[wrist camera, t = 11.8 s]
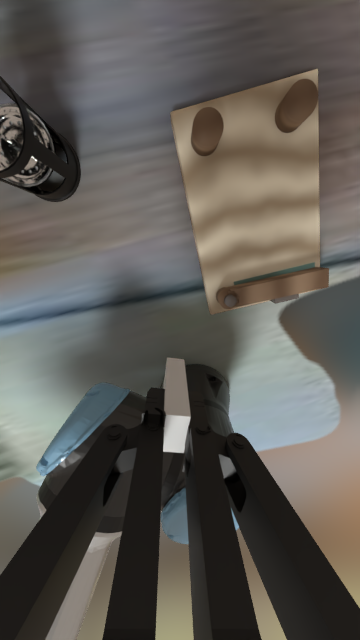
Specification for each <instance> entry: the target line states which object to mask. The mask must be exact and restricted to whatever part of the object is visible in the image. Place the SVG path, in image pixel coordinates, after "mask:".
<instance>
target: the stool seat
mask: <svg viewBox="0 0 360 640" xmlns="http://www.w3.org/2000/svg"><path fill="white" fill-rule="evenodd" d="M171 124H172V129H173V134H174V139H175V144H176V149H177V154H178V159H179V164H180V169H181V174H182V179H183V184H184V189H185V194H186V199H187V203H188V208H189V213H190V218H191V223H192V228H193V233H194V238H195V243H196V248H197V253H198V258H199V263H200V268H201V273H202V278H203V283H204V288H205V293H206V298H207V303H208V308H209V312H210V314H211V315H212V314H216V313H220V312H225V311H229V310H233V309H237V308H242V307H246V306H250V305H254V304H259V303H263V302H267V301H272V302H274V303H280V302H284V301H288V300H292V299H297V298H299V294H301V293H299V294H294V295H290V296H285V297H281V298H276V299H272V300H267V301H263V302H258V303H254V304H249V305H244V306H240V307H235V308H233V309H225V308H223V307H222V306H221V305H220V304H219V303H218V301H217V299H216V294H217V292H218V290H219V289H221V288H223V287H229V286H234V285H238V284H243V283H247V282H251V281H256V280H260V279H265V278H269V277H274V276H278V275H282V274H287V273H291V272H296V271H300V270H305V269H309V268H313V267H320V225H319V127H318V69H315V70H312V71H308V72H305V73H301V74H298V75H295V76H291V77H288V78H284V79H281V80H278V81H274V82H271V83H267V84H264V85H261V86H257V87H254V88H250V89H247V90H244V91H240V92H237V93H233V94H230V95H227V96H223V97H220V98H216V99H213V100H210V101H206V102H203V103H200V104H196V105H193V106H189V107H186V108H183V109H179V110H176V111H172V112H171ZM317 290H318V289H317ZM313 291H314V290H313ZM308 292H309V291H308ZM304 293H305V292H304Z"/></svg>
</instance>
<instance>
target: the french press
mask: <svg viewBox="0 0 360 640" xmlns="http://www.w3.org/2000/svg"><path fill="white" fill-rule="evenodd" d="M0 89H1V90H2V91H4V92H5V93H6V94H7V95H8V96H9V97H10V98H11V99H12V100H13V101H14V102H15V103H16V104H11V103H8V104H2V105H0V181H3V182H5V183H8V184H10V185H13V186H15V187H18V188H20V189H23V190H25V191H28V192H30V193H33V194H35V195H36V196H38V197H40V198H42V199H44V200H47V201H51V202H59V201H63V200H66V199H68V198H69V197H71V196H72V195H73V194H74V192H75V191H76V189H77V187H78V185H79V181H80V165H79V161H78V158H77V155H76V153H75V151H74V149H73V148H72V146H71V145H70V144H69V142H68V141H67V140H66V139H65V138H64V137H63V136H61V135H60V134H59V133H57V132H56V131H55V130H54V129H53V128H51V127H50V126H49V125H48V124H47V123H46V122H45V121H44V120H43V119H42V118H41V117H40V116H39V115H38V114H37V113H36V112H35V111H34V110H33V109H32V108H31V107H30V106H29V105H28V104H27V103H26V102H25V101H24V100H23V99H22V98H21V97H20V96H19V95H18V94H17V93H16V92H15V91H14V90H13V89H12V87H11V86H10V85H9V84H8V83H7V82H6V81H5V80H4V79H3V78H2V77H1V76H0ZM52 141H54V142H55V143H57V144H58V145H59V146H60V147H61V148H62V149H63V150H64V152H65V153H66V157H67V163H66V162H64V161H63V160H62V159H61V158H59V157H58V156H57V155H56V154H55V149H54V145H53V142H52ZM53 170H54V171H56V172H57V173H59V174H60V175H62V176H63V177H65V179H64V181H63V183H62V184H61V185H60V187H59V188H57V189H56V190H55V191H53V192H48V191H44V190H42V189H40V188H39V187H38V186H37V185H39V184H42V183H43V182H45V181H46V180H47V179H48V178H49V177H50V176H51V174H52V172H53ZM1 178H5V179H7V180H8V181H6V180H4V179H1ZM9 181H10V182H9ZM11 182H12V183H11ZM18 185H19V186H18Z"/></svg>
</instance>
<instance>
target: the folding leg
mask: <svg viewBox="0 0 360 640" xmlns="http://www.w3.org/2000/svg"><path fill="white" fill-rule="evenodd" d="M328 283H329V268H321V267H313V268H309V269H305V270H300V271H296V272H291V273H287V274H282V275H278V276H274V277H269V278H265V279H260V280H256V281H251V282H247V283H243V284H238V285H234V286H229V287H223V288H221V289H219V290H218V292H217V294H216V299H217V301H218V303H219V304H220V305H221V306H222V307H223V308H225V309H233V308H235V307H240V306H244V305H249V304H254V303H258V302H263V301H267V300H272V299H276V298H281V297H285V296H290V295H294V294H299V293H304V292H308V291H313V290H317V289H322V288H326V287H328Z"/></svg>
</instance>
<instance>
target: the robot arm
mask: <svg viewBox="0 0 360 640" xmlns="http://www.w3.org/2000/svg"><path fill="white" fill-rule="evenodd" d="M229 402H230V395H229V390H228V387H227V384H226V382H225V380H224V378H223V377H222V375H221V374H220V373H219V372H217V371H216V370H214V369H213V368H211V367H208V366H205V365H198V364H192V365H186V366H185V362H184V359H176V358H167V362H166V370H165V377H164V381H163V383H162V386H161V389H160V388H151V389H150V390H149V391H148V393H147V398H146V397H144V396H141V395H139V394H136V393H134V392H131V391H130V389H124V388H121V387H118V386H115V385H112V384H109V383H99V384H96V385H95V386H93V387H92V388H91V389H90V390H89V391H88V392H87V394H86V395H85V396H84V397H83V399H82V400H81V401H80V403H79V404H78V405H77V406H76V408H75V409H74V411H73V412H72V413H71V415H70V416H69V417H68V419H67V420H66V422H65V423H64V424H63V426H62V427H61V429H60V430H59V431H58V433H57V434H56V436H55V437H54V439H53V440H52V442H51V443H50V445H49V446H48V448H47V449H46V451H45V453H44V455H43V456H42V458H41V460H40V461H39V462H38V464H37V467H36V469H37V471H38V472H40V475H42V476H45V475H47V476H46V478H45V479H44V481H43V483H42V485H41V487H40V489H39V491H38V493H37V503H38V507H39V511H40V515H41V517H40V519H39V521H38V523H37V524H36V526H35V527H34V529H33V530H32V531H31V533H30V534H29V536H28V537H27V539H26V540H25V541H24V543H23V544H22V545H21V547H20V548H19V550H18V551H17V553H16V554H15V555H14V557H13V558H12V560H11V561H10V562H9V564H8V565H7V567H6V568H5V570H4V571H3V572H2V574H1V575H0V640H76V638H77V636H78V634H79V631H80V628H81V625H82V622H83V620H84V617H85V614H86V611H87V609H88V605H89V603H90V600H91V598H92V595H93V592H94V589H95V587H96V584H97V581H98V578H99V576H100V573H101V570H102V567H103V565H104V562H105V559H106V556H107V554H108V551H109V548H110V545H111V542H112V541H113V540H114V539H116V538H118V537H119V536H121V540H120V545H119V551H118V557H117V562H116V568H115V574H114V579H113V584H112V590H111V595H110V601H109V607H108V612H107V618H106V624H105V629H104V634H103V639H102V640H155V631H156V606H157V584H158V561H159V537H160V536H159V535H160V514H161V522H162V528H163V531H164V533H165V534H166V535H167V536H168V537H169V538H170V539H171V540H173V541H175V542H178V543H182V544H189V560H190V577H191V596H192V615H193V633H194V640H262V639H261V636H260V633H259V629H258V625H257V621H256V616H255V612H254V608H253V603H252V599H251V595H250V590H249V586H248V581H247V577H246V573H245V568H244V564H243V560H242V555H241V551H240V547H239V542H238V537H237V533H236V530H237V529H238V528H240V530H241V532H242V535H243V537H244V540H245V542H246V544H247V546H248V549H249V551H250V554H251V556H252V558H253V561H254V563H255V565H256V568H257V570H258V572H259V575H260V577H261V579H262V582H263V584H264V587H265V589H266V591H267V594H268V596H269V598H270V601H271V603H272V605H273V608H274V610H275V612H276V615H277V617H278V620H279V622H280V624H281V627H282V629H283V631H284V633H285V636H286V638H287V640H360V608H359V607H358V605H357V604H356V602H355V601H354V599H353V598H352V596H351V595H350V593H349V592H348V590H347V589H346V587H345V586H344V584H343V583H342V581H341V580H340V578H339V577H338V575H337V574H336V572H335V571H334V569H333V568H332V566H331V565H330V563H329V562H328V560H327V558H326V557H325V555H324V554H323V553H322V551H321V550H320V548H319V546H318V545H317V543H316V542H315V540H314V539H313V538H312V536H311V534H310V533H309V531H308V530H307V528H306V527H305V525H304V524H303V522H302V521H301V519H300V518H299V516H298V515H297V513H296V512H295V510H294V509H293V507H292V506H291V504H290V503H289V501H288V500H287V498H286V497H285V495H284V494H283V492H282V491H281V489H280V488H279V486H278V485H277V483H276V482H275V480H274V479H273V477H272V476H271V474H270V473H269V471H268V469H267V468H266V467H265V465H264V464H263V462H262V460H261V459H260V457H259V456H258V454H257V453H256V451H255V450H254V448H253V447H252V445H251V444H250V442H249V441H248V440H247V439H246V438H245V437H244V436H243V435H241V434H238V433H234V431H233V428H232V425H231V422H230V420H229V416H228V414H229ZM161 511H162V513H161Z"/></svg>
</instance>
